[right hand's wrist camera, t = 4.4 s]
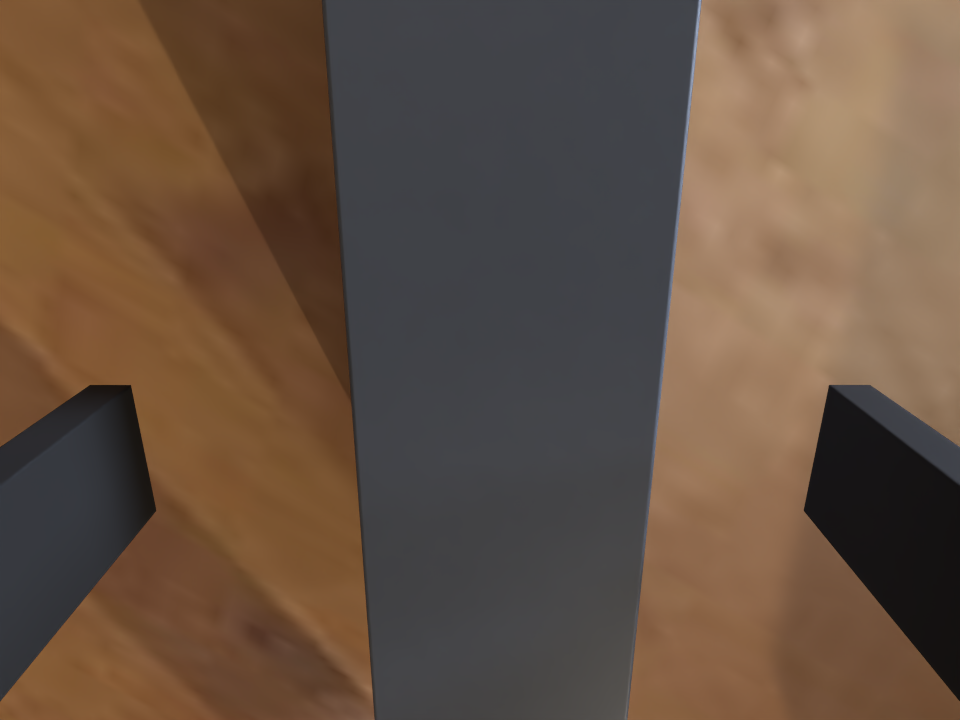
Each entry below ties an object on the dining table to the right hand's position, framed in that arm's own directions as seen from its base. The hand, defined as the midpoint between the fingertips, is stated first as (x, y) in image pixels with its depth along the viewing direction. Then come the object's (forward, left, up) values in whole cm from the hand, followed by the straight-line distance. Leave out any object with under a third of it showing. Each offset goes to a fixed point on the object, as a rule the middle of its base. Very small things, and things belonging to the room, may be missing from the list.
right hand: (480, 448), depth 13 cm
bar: (-8, -24, -6) cm, 27 cm away
